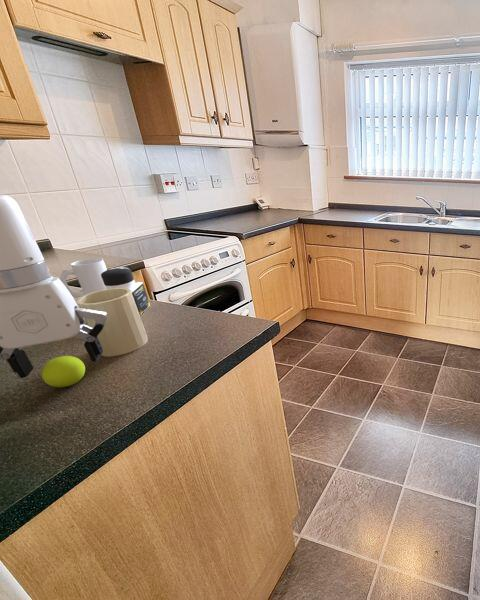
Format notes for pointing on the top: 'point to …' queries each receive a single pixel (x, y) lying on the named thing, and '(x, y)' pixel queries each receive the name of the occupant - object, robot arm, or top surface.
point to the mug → (86, 276)
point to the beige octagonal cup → (116, 320)
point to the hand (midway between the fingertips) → (63, 365)
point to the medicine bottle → (127, 285)
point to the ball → (63, 371)
